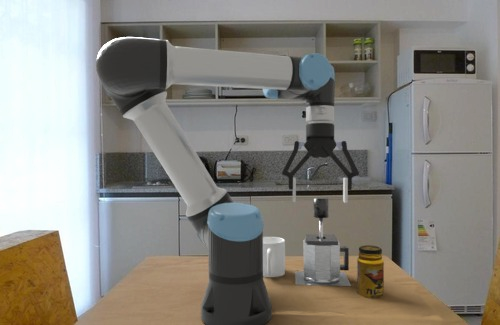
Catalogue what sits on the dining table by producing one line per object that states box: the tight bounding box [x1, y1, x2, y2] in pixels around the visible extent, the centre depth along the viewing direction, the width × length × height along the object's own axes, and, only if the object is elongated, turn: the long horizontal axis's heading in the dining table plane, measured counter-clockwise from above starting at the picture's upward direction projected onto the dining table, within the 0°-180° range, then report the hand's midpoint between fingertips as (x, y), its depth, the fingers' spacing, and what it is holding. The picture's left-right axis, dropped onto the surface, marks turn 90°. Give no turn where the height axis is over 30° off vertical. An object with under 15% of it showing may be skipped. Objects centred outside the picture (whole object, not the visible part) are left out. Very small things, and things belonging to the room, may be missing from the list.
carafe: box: [302, 233, 350, 284], centre depth 100 cm, size 12×10×11 cm
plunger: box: [312, 197, 330, 239], centre depth 100 cm, size 7×7×19 cm
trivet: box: [294, 270, 352, 287], centre depth 100 cm, size 14×11×1 cm
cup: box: [263, 236, 286, 278], centre depth 103 cm, size 8×12×10 cm
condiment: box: [356, 244, 385, 299], centre depth 89 cm, size 7×8×12 cm
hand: (319, 202), depth 99 cm, fingers open, 13 cm apart
